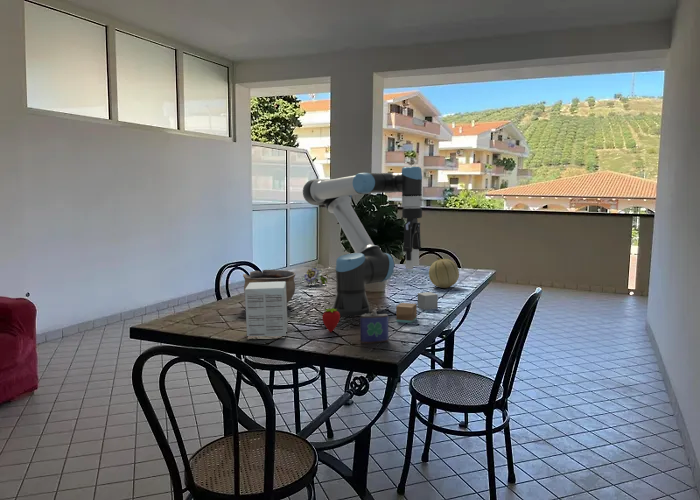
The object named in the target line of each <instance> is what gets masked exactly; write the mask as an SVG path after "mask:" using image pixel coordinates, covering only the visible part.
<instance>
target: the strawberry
mask: <svg viewBox="0 0 700 500" xmlns="http://www.w3.org/2000/svg"><path fill="white" fill-rule="evenodd" d="M333 305H334V303H333V304H331V305H330V307H332V308H325V309H324V311H323V314H322V316H321V317H322V318H321V320H322V323H323V324H324V327H325V328H326V329H327V330H328V332H329V331H330V332H329V333H333V332H334V330H335V329H336V327H337V326H338V324H339V323H340V319H341V316H340V313H339V312H338V311H336V310H337V309H333ZM332 331H333V332H332Z"/></svg>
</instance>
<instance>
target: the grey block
mask: <svg viewBox="0 0 700 500" xmlns="http://www.w3.org/2000/svg"><path fill="white" fill-rule="evenodd" d="M438 295H439V294H437V293H434V292H431V291H426V292H418V293H417V308H419V309H421V310H424V311H427V310H428V311H429V310H436V309H438V306H439V304H438V302H439V298H438V297H439V296H438Z"/></svg>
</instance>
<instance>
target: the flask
mask: <svg viewBox="0 0 700 500" xmlns="http://www.w3.org/2000/svg"><path fill="white" fill-rule="evenodd" d="M359 326H360V327H359V329H360V330H359V331H360V336H359V337H360V344H382V343H384V344H385V343H388V342H389V339H390V337H389V334H390V333H389V315H388V314H387V313H377V309H372V311H371V312H370V313H368V314H366V313H365V314H364V315H361V316H359Z"/></svg>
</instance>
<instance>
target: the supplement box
mask: <svg viewBox="0 0 700 500" xmlns="http://www.w3.org/2000/svg"><path fill="white" fill-rule="evenodd" d="M244 298H245V299H244V301H245V320H246V325H245V326H246V337H247V336H286V337H287V334H286V332H287V333H288V329H287V327H288V326H289V325H288V303H287V296H286V282H285V281H281V282H253V283H249V284H248V286H247V287H246V288H245V292H244ZM288 328H289V327H288Z"/></svg>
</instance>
